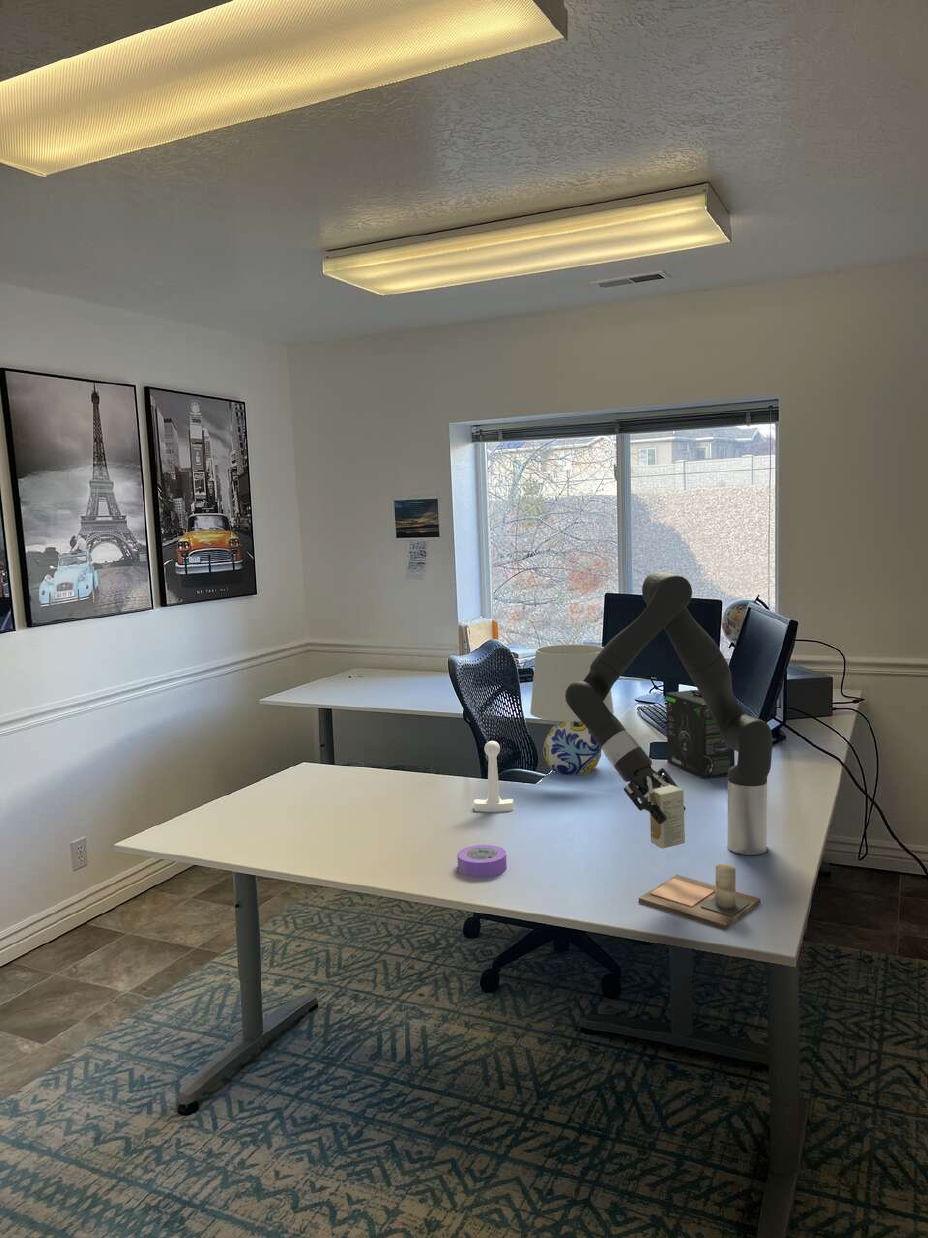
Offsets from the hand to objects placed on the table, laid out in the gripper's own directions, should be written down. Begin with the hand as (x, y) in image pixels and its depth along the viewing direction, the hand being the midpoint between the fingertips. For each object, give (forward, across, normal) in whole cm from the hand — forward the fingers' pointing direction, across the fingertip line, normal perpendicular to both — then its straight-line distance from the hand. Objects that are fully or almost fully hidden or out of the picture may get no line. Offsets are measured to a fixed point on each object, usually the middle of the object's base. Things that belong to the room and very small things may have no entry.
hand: (673, 816), depth 191 cm
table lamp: (-40, +65, +67) cm, 101 cm away
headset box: (-18, +91, +45) cm, 103 cm away
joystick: (-37, +20, +63) cm, 75 cm away
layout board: (+17, 0, +9) cm, 19 cm away
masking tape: (-18, -15, +43) cm, 49 cm away
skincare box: (+4, 0, +6) cm, 7 cm away
